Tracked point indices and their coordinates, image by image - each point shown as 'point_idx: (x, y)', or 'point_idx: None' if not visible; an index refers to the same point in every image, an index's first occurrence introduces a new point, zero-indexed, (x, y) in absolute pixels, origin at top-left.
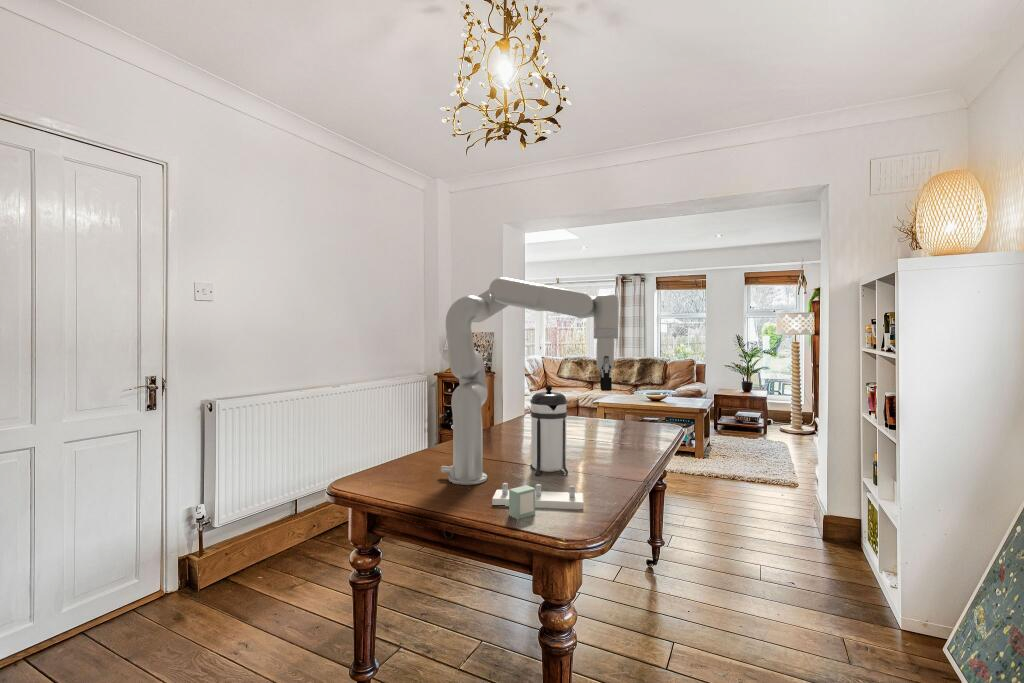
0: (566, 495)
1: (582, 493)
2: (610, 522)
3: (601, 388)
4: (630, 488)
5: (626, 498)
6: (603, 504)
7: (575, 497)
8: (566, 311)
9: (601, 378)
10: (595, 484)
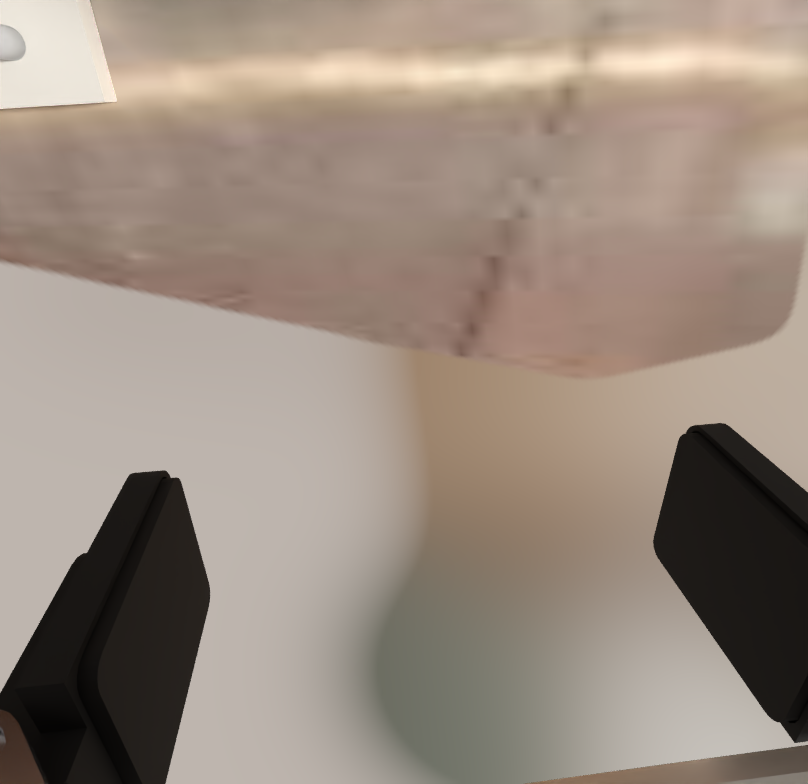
0: (19, 5)
1: (96, 101)
2: None
3: (121, 499)
4: (354, 316)
5: (215, 300)
6: (96, 205)
7: (11, 64)
8: None
9: (33, 676)
10: (380, 159)
